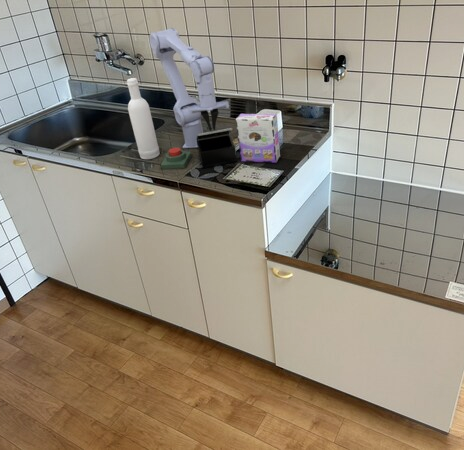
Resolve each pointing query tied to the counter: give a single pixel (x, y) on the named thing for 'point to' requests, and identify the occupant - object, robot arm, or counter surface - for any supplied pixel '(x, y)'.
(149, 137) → the bottle
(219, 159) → the black boxy piece
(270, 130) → the candy box
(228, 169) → the counter surface
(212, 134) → the canister lid
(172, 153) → the timer button
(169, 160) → the green base
